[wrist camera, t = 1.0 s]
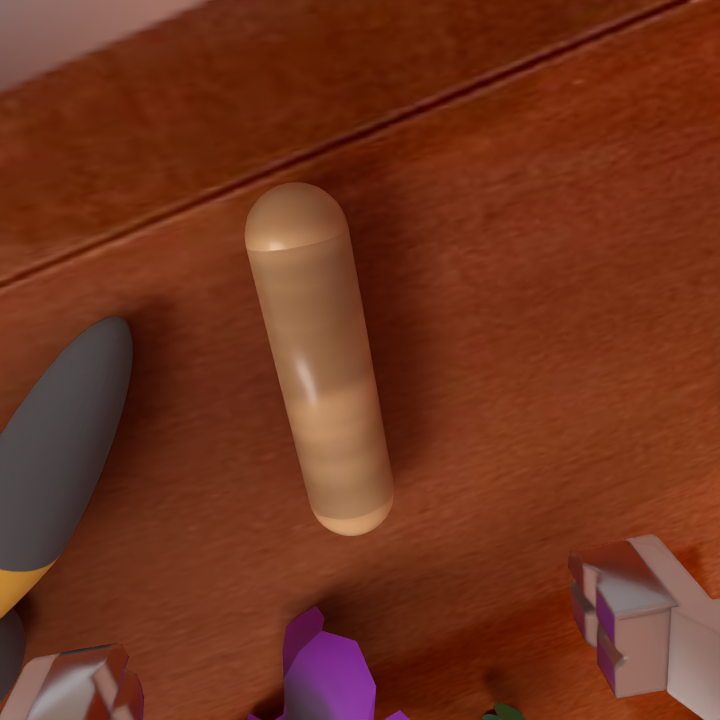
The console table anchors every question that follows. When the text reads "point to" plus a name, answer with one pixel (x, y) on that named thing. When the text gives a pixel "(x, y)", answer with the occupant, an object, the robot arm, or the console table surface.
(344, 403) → the stick
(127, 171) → the console table surface
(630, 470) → the console table surface
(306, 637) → the flower
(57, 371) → the paintbrush
